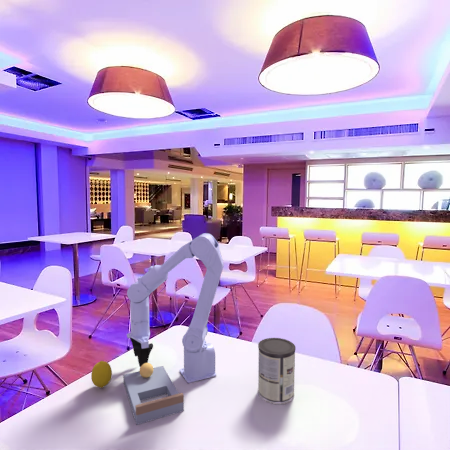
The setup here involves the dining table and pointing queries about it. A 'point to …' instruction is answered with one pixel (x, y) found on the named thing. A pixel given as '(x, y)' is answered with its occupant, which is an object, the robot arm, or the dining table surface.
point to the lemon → (101, 374)
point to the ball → (146, 370)
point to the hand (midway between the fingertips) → (140, 360)
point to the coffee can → (276, 370)
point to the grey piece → (152, 395)
